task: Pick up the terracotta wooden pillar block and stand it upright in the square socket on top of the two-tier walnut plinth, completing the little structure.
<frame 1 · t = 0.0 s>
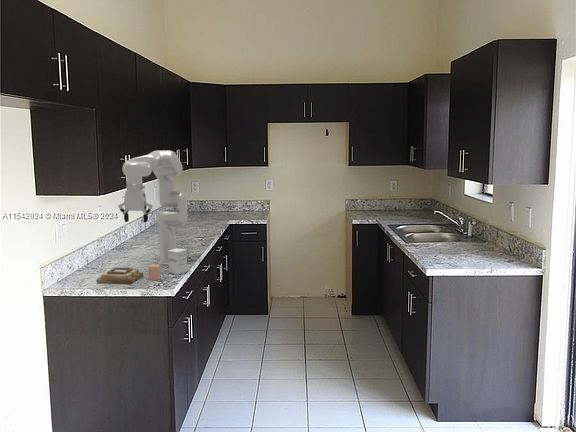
hand: (136, 221, 263), 31 cm above the counter, tool pointing down, fingers open, 9 cm apart
pillar block: (154, 278, 276), on the counter
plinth: (120, 279, 274), on the counter
supplement box: (178, 272, 289), on the counter
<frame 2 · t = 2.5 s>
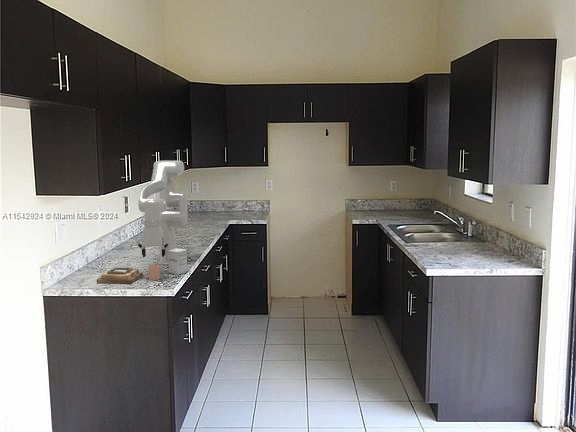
hand: (153, 256, 274), 12 cm above the counter, tool pointing down, fingers open, 9 cm apart
nothing on the counter moved.
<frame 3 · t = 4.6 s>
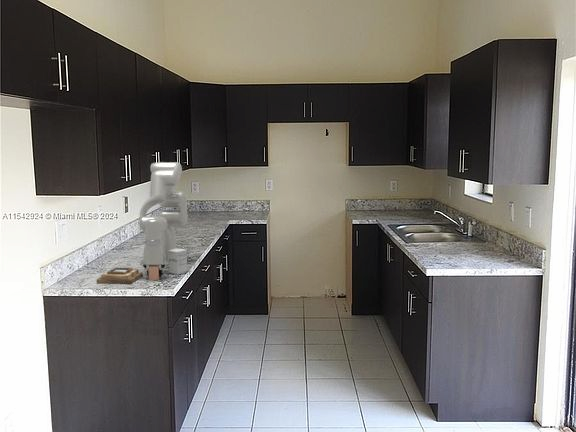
hand: (154, 276, 276), 1 cm above the counter, tool pointing down, fingers closed on pillar block, 5 cm apart
pillar block: (154, 278, 276), on the counter, touching gripper
everything else where it was.
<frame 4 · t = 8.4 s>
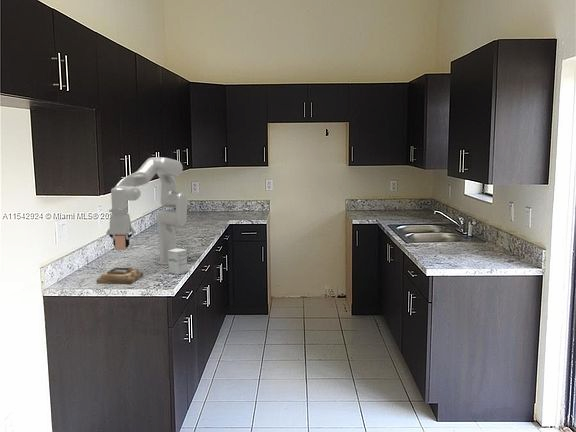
hand: (121, 246, 272), 18 cm above the counter, tool pointing down, fingers closed on pillar block, 5 cm apart
pillar block: (121, 248, 272), point 16 cm above the counter, touching gripper
everything else where it was.
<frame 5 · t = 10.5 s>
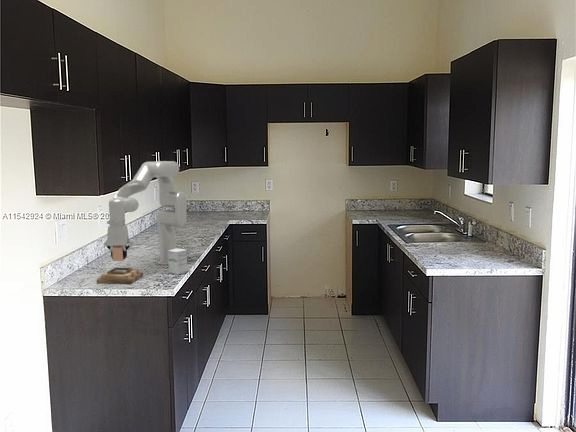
hand: (119, 257, 272), 12 cm above the counter, tool pointing down, fingers closed on pillar block, 5 cm apart
pillar block: (119, 259, 272), point 11 cm above the counter, touching gripper
everything else where it was.
when the fingers open (6 cm above the counter, at t = 12.2 s): pillar block stays where it is, resting on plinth.
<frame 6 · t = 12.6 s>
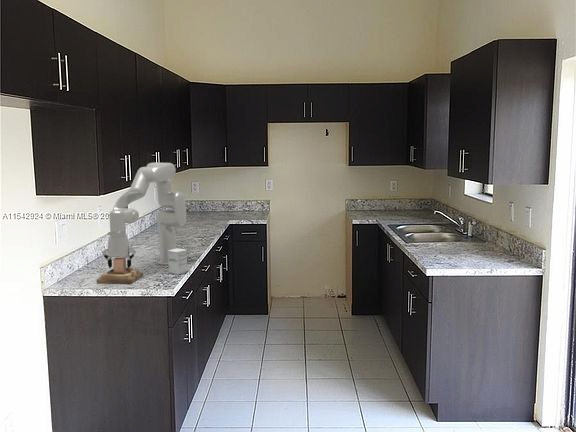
hand: (119, 267, 273), 7 cm above the counter, tool pointing down, fingers open, 9 cm apart
pillar block: (120, 271, 273), point 4 cm above the counter, touching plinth
everything else where it was.
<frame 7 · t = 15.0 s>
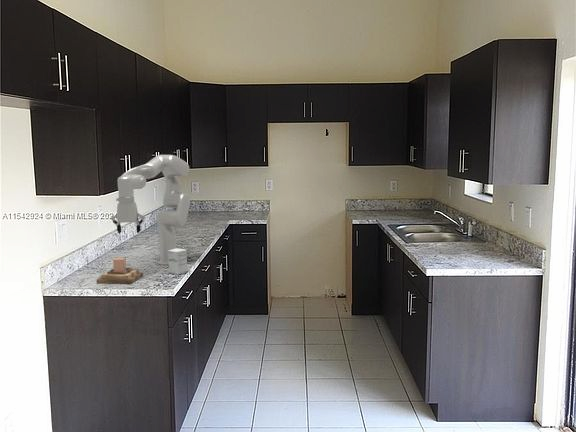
hand: (129, 232, 277), 24 cm above the counter, tool pointing down, fingers open, 9 cm apart
nothing on the counter moved.
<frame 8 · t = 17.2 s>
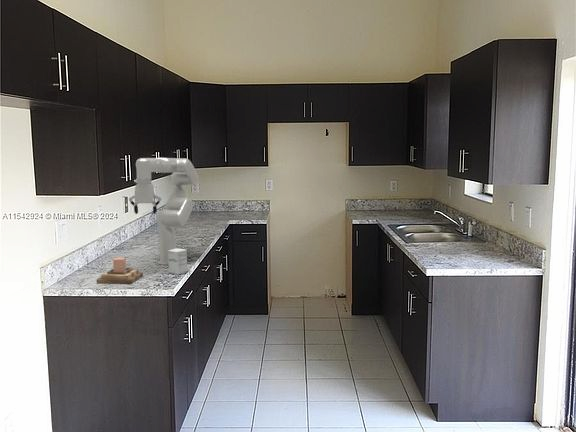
hand: (145, 213, 286), 32 cm above the counter, tool pointing down, fingers open, 9 cm apart
nothing on the counter moved.
at the end: pillar block 0.0 cm off-centre on the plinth, point 4.2 cm above the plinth's base; pillar block tilted 0°; the gripper is holding nothing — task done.
